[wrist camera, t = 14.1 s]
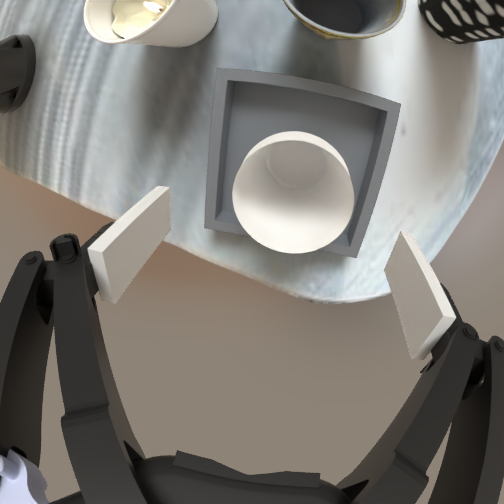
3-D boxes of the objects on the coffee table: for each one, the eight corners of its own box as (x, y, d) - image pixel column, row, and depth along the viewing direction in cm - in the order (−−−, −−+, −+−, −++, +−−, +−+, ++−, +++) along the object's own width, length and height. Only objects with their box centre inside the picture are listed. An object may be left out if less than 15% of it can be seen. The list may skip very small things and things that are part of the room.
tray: (214, 213, 36) (204, 228, 32) (227, 70, 26) (216, 68, 22) (351, 240, 34) (356, 258, 31) (389, 102, 24) (401, 103, 21)
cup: (342, 193, 30) (360, 248, 20) (266, 203, 33) (246, 260, 23) (330, 114, 26) (348, 128, 16) (247, 128, 28) (215, 151, 18)
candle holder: (151, 62, 26) (86, 60, 16) (144, -1, 21) (82, -21, 11) (230, 43, 24) (189, 19, 14) (220, -24, 19) (180, -67, 9)
